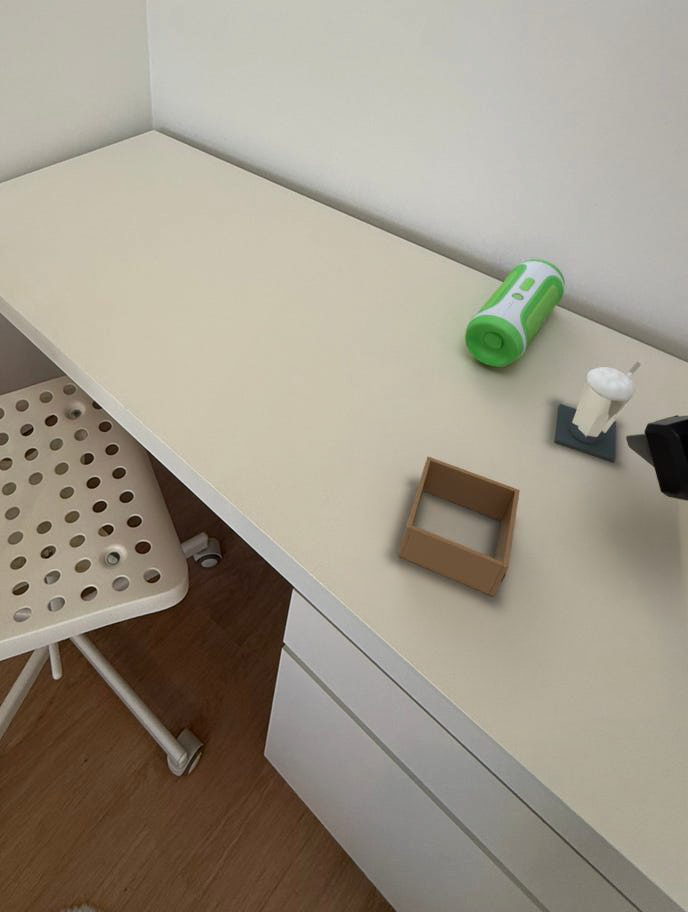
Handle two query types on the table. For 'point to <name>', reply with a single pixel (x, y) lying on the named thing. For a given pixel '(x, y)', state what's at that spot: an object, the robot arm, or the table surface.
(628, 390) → the milkshake
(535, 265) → the speaker
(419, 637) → the table surface
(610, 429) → the mat
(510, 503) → the carton
